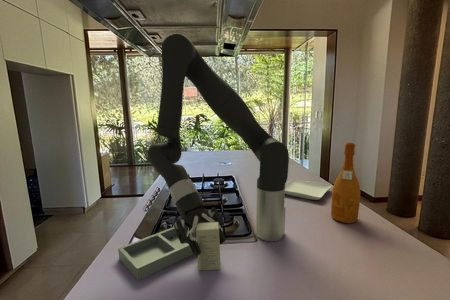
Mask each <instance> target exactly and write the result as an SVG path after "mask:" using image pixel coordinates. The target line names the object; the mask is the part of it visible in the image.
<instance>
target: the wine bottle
mask: <svg viewBox="0 0 450 300" xmlns="http://www.w3.org/2000/svg"><path fill="white" fill-rule="evenodd" d="M355 148H356V144H355V143H353V142H346V143H345V144H344V153H343V154H344V156H345V157H344V162H343V165H342V169H341V170H340V173H339V174H338V175H337V177H336V179H335V181H334V183H333V185H332V192H331V204H330V205H331V206H330V216H331V217H332V218H331V219H333V220H335V221H336V222H340V223H344V224H352V223H355V222H357V221H358V217H359V211H360V203H361V187H360V182H359V180H358V178H357V175H356V173H355V169H354V168H355V167H354V156H355V154H356V151H355Z"/></svg>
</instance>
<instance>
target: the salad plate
mask: <svg viewBox="0 0 450 300" xmlns="http://www.w3.org/2000/svg"><path fill="white" fill-rule="evenodd" d="M332 188H333V185H331V184H326V183H321V182H316V181H308V180H302V179H296V178H292V179H290V180H289V181H286V183H285V195H288V196H292V197H297V198H300V199H301V198H302V199H307V200H311V201H318V200H321V199H322V198H323V196H324V195H325V194H326V193H327V192H328V191H330V190H331V189H332Z"/></svg>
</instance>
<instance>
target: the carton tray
mask: <svg viewBox="0 0 450 300" xmlns="http://www.w3.org/2000/svg"><path fill="white" fill-rule="evenodd" d="M183 228H184V230H185V233H186V235H187V233H188V228H189V227H187V226H185V225H184V227H183ZM187 236H188V235H187ZM171 237H173V238H172V239H171ZM194 240H196V232H195V237H194ZM196 242H197V240H196ZM117 251H118V259H119V260H120V261H121V263H122V264H123V265H124V266H125V267H126V269H127V270H128V271H129V272H130V273H131V275H132V276H133V277H134V278H135V279H136V280H137V281H141V280H143V279H145V278H147V277H149V276H152V275H153V274H156V273H157V272H159V271H161V270H163V269H166V268H167V267H168V268H169V266H171V265H173V264H176V263H177V262H180V261H182V260H184V259H186V258H188V257H190V256H193V255H194V254H193V252H192V250H191V248H190V246H189V244H188V243H184V244H181V243H180V241H179V238H178V235H177V233H176V230H175V228H174V226H173V227H170V228H168V229H164V230H162V231H159V232H156V233H155V234H152V235H149V236H147V237H144V238H141V239H138V240H136V241H132V242H131V243H128V244H126V245H125V244H124V245H122V246H120V247H118V249H117Z"/></svg>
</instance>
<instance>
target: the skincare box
mask: <svg viewBox="0 0 450 300" xmlns="http://www.w3.org/2000/svg"><path fill="white" fill-rule="evenodd" d="M196 240H197V244H198V246H199V248H200V250H201V254H200V255H198V256H197V270H198V271H212V270H215V271H216V270H221V249H220V248H221V246H220V245H221V244H220V242H219V223H218V222H207V223H197V226H196Z"/></svg>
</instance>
